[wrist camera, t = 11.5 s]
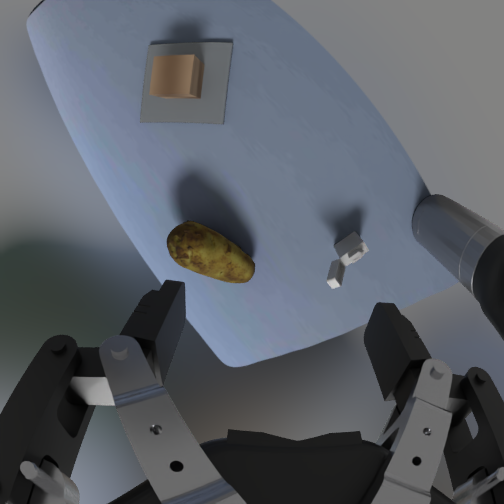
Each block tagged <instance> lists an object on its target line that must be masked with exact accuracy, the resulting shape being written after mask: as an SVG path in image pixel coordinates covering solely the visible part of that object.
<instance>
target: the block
mask: <svg viewBox="0 0 504 504" xmlns="http://www.w3.org/2000/svg"><path fill="white" fill-rule="evenodd" d="M204 66H205V65H204V64H203V63H202V62H201V61H200V60H199V59H198V58H197V57H196V56H195V55H169V56H154V60H153V67H152V75H151V83H150V92H149V95H153V96H157V97H161V98H165V99H167V98H191V99H201V91H202V82H203V74H204Z"/></svg>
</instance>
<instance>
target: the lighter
mask: <svg viewBox="0 0 504 504" xmlns="http://www.w3.org/2000/svg"><path fill="white" fill-rule="evenodd" d="M334 248H335V250H336V252H337V254H338V256H339V258H340V259H337V260H335V261H332V262H331V266H330V270H329V273H328V277H327V282H328V284H329V285H330V286H331V288H332V289H334V288H337V287H340V286H341V285H342V281H343V276H344V272H345V266H347V265H349V264H350V263H355V262H356V261H358V260H359V259H360V258H362V257H363V256H362V255H363V254H365V253H366V252H368V248H367V246H366V245H365V243H364V242H363V240H362V239H361V238H360V236H359V235H358V234H357V233H356V232H355V231H354V232H352V233H351V234H350V235H348V236H347V237H345V238H344V239H342V240H341V241H339V242H338V243H337V244H335V245H334Z"/></svg>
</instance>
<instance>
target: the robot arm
mask: <svg viewBox="0 0 504 504" xmlns="http://www.w3.org/2000/svg"><path fill="white" fill-rule="evenodd" d="M412 230H413V234H414V237H415V239H416V240H417V241H418V242H419V243H420V244H421V245H422V246H423V247H424V248H425V249H426V250H427V251H428V252H429V253H430V254H432V255H433V256H434V257H435V258H436V259H437V260H438V261H439V262H440V263H441V264H442V265H443V266H444V267H445V268H446V269H447V270H448V271H449V272H450V273H451V274H452V275H453V276H454V277H455V278H456V279H457V280H458V281H459V282H460V283H461V284H462V285H463V286H464V287H465V288H466V289H467V290H468V291H469V292H470V293H471V294H472V295H473V296H474V297H475V298H476V299H477V300H478V302H479V303H480V306H481V308H482V311H483V312H484V314H485V315H486V317H487V318H488V319H489V321H490V322H491V323H492V325H493V326H494V327H495V329H496V330H497V331H498V333H499V334H500V336H501V337H502V339H503V340H504V230H503V229H502V228H500V227H498V226H497V225H495V224H493V223H492V222H490V221H488V220H487V219H485V218H483V217H482V216H480V215H478V214H476V213H475V212H473V211H471V210H469V209H467V208H466V207H464V206H462V205H460V204H458V203H457V202H454V201H453V200H451V199H449V198H447V197H445V196H443V195H437V194H435V195H431V196H429V197H427V198H425V199H424V200H423V201H422V202H421V203H420V204H419V205H418V207H417V209H416V211H415V213H414V216H413V221H412ZM185 317H186V306H185V283H184V282H180V281H172V280H165V282H164V283H163V285H162V287H161V289H160V290H159V291H156V290H151V291H150V292H148V293H147V294H146V295H144V296H143V297H142V299H141V300H140V302H139V304H138V306H137V307H136V308H135V310H134V312H133V313H132V315H131V316H130V318H129V320H128V321H127V323H126V325H125V326H124V328H123V330H122V331H121V333H120V335H117V336H113V337H110V338H108V339H107V340H105V341H104V342H103V343H102V344H101V346H100V347H95V348H90V347H85V348H83V347H78V346H77V343H76V341H75V340H74V339H73V338H72V337H70V336H68V335H57V336H53V337H51V338H49V339H48V340H47V341H46V342H45V343H44V344H43V346H42V347H41V349H40V350H39V352H38V353H37V354H36V356H35V357H34V359H33V361H32V362H31V363H30V365H29V367H28V368H27V370H26V371H25V373H24V374H23V376H22V378H21V379H20V381H19V383H18V384H17V386H16V388H15V389H14V391H13V393H12V394H11V396H10V398H9V400H8V402H7V403H6V405H5V407H4V408H3V411H2V412H1V414H0V504H79V491H78V488H77V486H76V484H75V483H74V482H73V481H72V480H71V479H70V477H71V474H72V470H73V467H74V464H75V461H76V458H77V455H78V452H79V449H80V446H81V444H82V441H83V438H84V435H85V432H86V430H87V427H88V424H89V422H90V419H91V417H92V414H93V411H94V409H95V407H96V405H115V406H116V409H117V412H118V414H119V417H120V419H121V422H122V424H123V427H124V429H125V432H126V434H127V436H128V439H129V441H130V443H131V445H132V447H133V450H134V452H135V454H136V456H137V458H138V460H139V462H140V464H141V466H142V468H143V470H144V472H145V474H146V476H147V478H148V479H147V480H146V481H144V482H143V483H141V484H139V485H138V486H136V487H135V488H133V489H132V490H130V491H128V492H127V493H125V494H123V495H122V496H120V497H118V498H117V499H115V500H113V501H112V502H110V503H108V504H504V402H503V400H502V398H501V396H500V394H499V392H498V390H497V388H496V387H495V385H494V383H493V381H492V379H491V377H490V376H489V374H488V373H487V372H486V371H484V370H483V369H481V368H478V367H472V368H470V369H469V370H468V372H467V373H466V375H465V376H461V375H455V374H452V371H451V369H450V368H449V367H448V365H447V364H445V363H444V362H442V361H440V360H438V359H432V358H431V356H430V354H429V352H428V350H427V349H426V347H425V345H424V343H423V342H422V340H421V339H420V338H419V335H418V333H417V332H416V330H415V328H414V327H413V325H412V323H411V322H410V321H409V320H408V319H407V318H405V317H404V316H403V315H401V313H400V312H399V310H398V308H397V307H396V305H395V304H394V303H381V302H378V303H377V304H376V305H375V307H374V309H373V312H372V315H371V317H370V320H369V322H368V325H367V327H366V329H365V333H364V344H365V347H366V350H367V352H368V355H369V357H370V360H371V363H372V366H373V369H374V371H375V374H376V377H377V380H378V383H379V386H380V389H381V391H382V394H383V398H384V401H391V400H396V405H395V406H394V407H393V409H392V411H391V414H390V416H389V418H388V420H387V422H386V424H385V426H384V428H383V430H382V432H381V434H380V436H379V438H378V440H377V441H376V443H373V442H369V441H365V440H362V438H361V434H360V431H356V432H342V433H329V434H325V435H322V436H318V437H314V438H310V439H306V440H301V441H295V440H291V439H286V438H282V437H278V436H274V435H270V434H267V433H263V432H251V431H240V430H230V429H228V435H227V438H220V439H215V440H210V441H207V442H204V443H201V444H198V443H197V441H196V439H195V438H194V436H193V435H192V433H191V432H190V430H189V428H188V427H187V425H186V424H185V422H184V420H183V419H182V417H181V415H180V414H179V412H178V411H177V409H176V407H175V405H174V403H173V402H172V400H171V398H170V396H169V395H168V393H167V391H166V390H165V388H164V387H163V385H164V382H165V379H166V376H167V373H168V370H169V367H170V364H171V362H172V359H173V356H174V353H175V350H176V347H177V345H178V342H179V339H180V336H181V333H182V331H183V328H184V324H185ZM471 412H473V414H474V417H475V419H476V421H477V424H478V428H479V429H478V434H477V436H476V437H475V438H474V439H473V438H472V436H471V433H470V431H469V427H468V425H467V422H466V420H465V418H466V417H467V416H468V415H469V414H470V413H471ZM443 452H444V455H445V459H446V463H447V466H448V470H449V474H450V478H451V482H452V487H453V491H454V494H453V499H452V500H451V499H449V498H448V497H447V496H445V495H444V494H443V493H441V492H440V491H439V490H437V489H436V488H435V487H433V486H432V483H433V481H434V478H435V475H436V472H437V469H438V466H439V463H440V460H441V456H442V453H443Z"/></svg>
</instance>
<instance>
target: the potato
mask: <svg viewBox="0 0 504 504" xmlns="http://www.w3.org/2000/svg"><path fill="white" fill-rule="evenodd" d="M167 247H168V250H169V253H170V256H171V257H172V258H173V259H174V261H175V262H176V263H177V264H179V265H180V266H182V267H184V268H187V269H189V270H192V271H194V272H196V273H199V274H202V275H205V276H209V277H212V278H214V279H218V280H221V281H225V282H230V283H245V282H248V281H249V280H250V279H251V278H252V276H253V274H254V272H255V263H254V262H253V260H252V259H251V257H250V256H249V255H248V254H245V253H244V252H243V251H242V249H241V248H240V247H239V246H237V245H236V244H235V243H232V242H231V241H230V240H229V239H227V238H225V237H224V236H223V235H221V234H219V233H218V232H216V231H214V230H212V229H210V228H208V227H206V226H204V225H202V224H199V223H196V222H194V221H188V220H187V222H184V223H183V224H180V225H178V226H176V227H175V228H174V229H173V230H172V231H171V232H170V234H169V235H168V237H167Z"/></svg>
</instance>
